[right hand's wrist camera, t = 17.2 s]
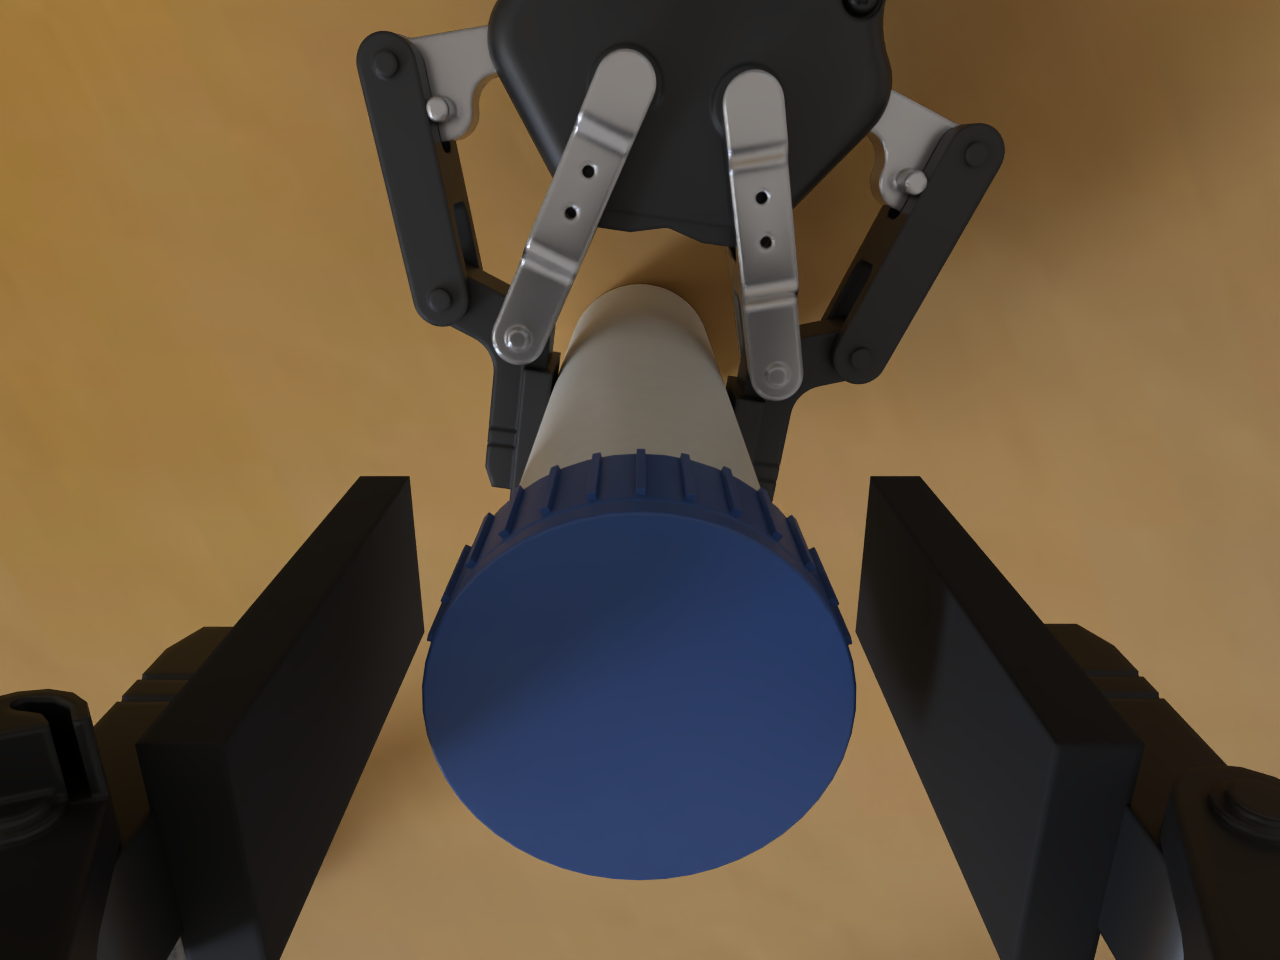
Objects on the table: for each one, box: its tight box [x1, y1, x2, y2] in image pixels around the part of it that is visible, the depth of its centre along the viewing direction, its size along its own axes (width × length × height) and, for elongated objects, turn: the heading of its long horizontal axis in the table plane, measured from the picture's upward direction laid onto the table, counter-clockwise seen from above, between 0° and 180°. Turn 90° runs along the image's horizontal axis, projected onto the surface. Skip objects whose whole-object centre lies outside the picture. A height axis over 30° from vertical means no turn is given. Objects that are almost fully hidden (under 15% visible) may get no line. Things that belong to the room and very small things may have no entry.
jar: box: [520, 284, 760, 491], centre depth 19 cm, size 4×4×18 cm
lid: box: [422, 449, 856, 880], centre depth 11 cm, size 5×5×2 cm
